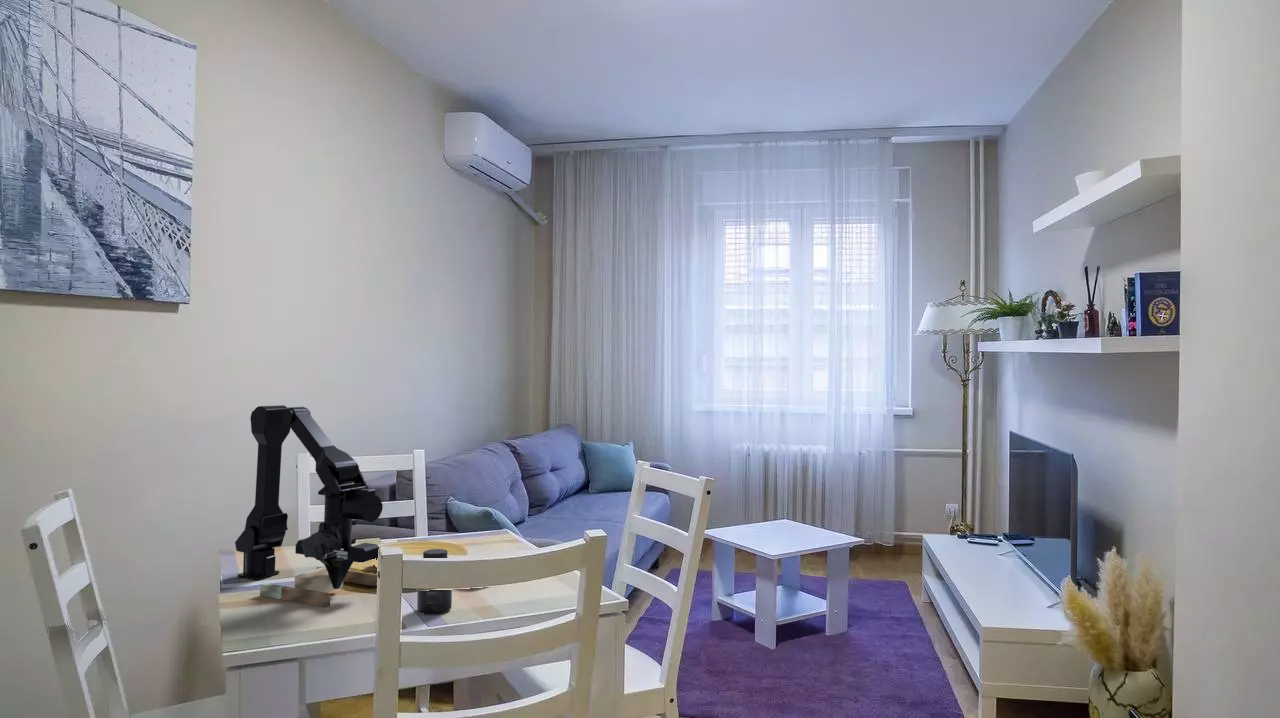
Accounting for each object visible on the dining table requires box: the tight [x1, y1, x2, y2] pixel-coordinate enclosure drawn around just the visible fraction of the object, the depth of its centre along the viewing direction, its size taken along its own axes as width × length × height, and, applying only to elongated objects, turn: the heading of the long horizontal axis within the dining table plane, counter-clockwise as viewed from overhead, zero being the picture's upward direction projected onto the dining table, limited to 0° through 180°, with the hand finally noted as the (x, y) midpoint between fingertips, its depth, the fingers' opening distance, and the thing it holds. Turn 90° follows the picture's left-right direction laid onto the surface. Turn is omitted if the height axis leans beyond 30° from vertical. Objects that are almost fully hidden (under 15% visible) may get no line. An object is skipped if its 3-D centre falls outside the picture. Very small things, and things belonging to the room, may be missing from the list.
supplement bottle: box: [416, 548, 453, 615], centre depth 156 cm, size 7×7×12 cm
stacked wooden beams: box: [259, 565, 377, 608], centre depth 168 cm, size 18×17×2 cm
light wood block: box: [294, 568, 344, 593], centre depth 168 cm, size 6×8×4 cm
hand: (336, 588), depth 166 cm, fingers closed
